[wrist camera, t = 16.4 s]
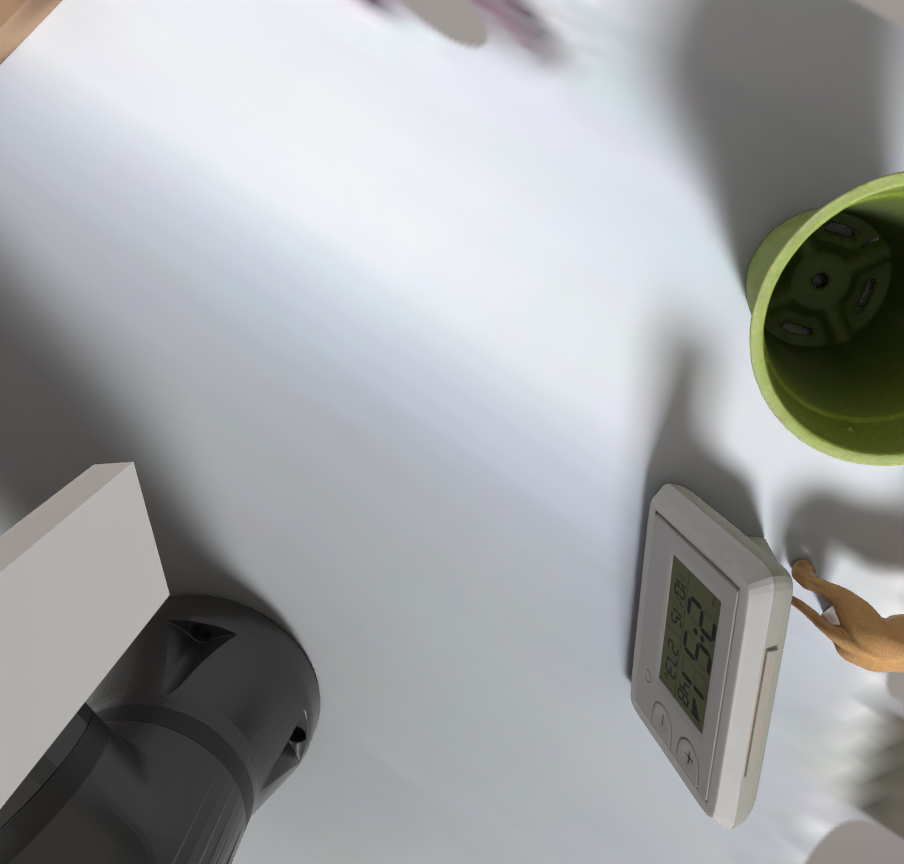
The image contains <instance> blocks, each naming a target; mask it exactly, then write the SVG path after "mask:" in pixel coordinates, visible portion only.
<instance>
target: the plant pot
mask: <svg viewBox="0 0 904 864" xmlns="http://www.w3.org/2000/svg"><path fill="white" fill-rule="evenodd" d="M830 222H835V223H839V224H844V225H846V226H848V227H850V228H852V229H853V230H854V234H853V235H852V236H851V237H846V236H843V235H841V234H838V233H834V232H829V231H825V227H826V225H827V224H828V223H830ZM876 237H878V238H879V240H878V241H876V242H873V243H870V244H869V245H866V246H864V247H861V248H860V246H861V245H863V244H865V243H866V242H867V241H870V240H871V239H873V238H876ZM818 274H824V275H826V277H827V283H826V285H825V286H823V287H821V288H816V287H815V286H814V285H813V283H812V280H813V278H814V277H815V276H816V275H818ZM874 278H876V279H875V282H874V285H873V287H872V289H873V290H872V292H871V295H870V297H869V300H868V301H867V303H866V305H865V306H864V307H859V306H858V302H859V300H860V299H861V297H862V294H863V292H864V290H865V287H866V284H867V281H868V280H874ZM746 295H747V301H748V305H749V309H750V312H751V315H752V318H751V325H750V356H751V363H752V368H753V372H754V376H755V379H756V381H757V384H758V386H759V389H760V391H761V394H762V396H763V397H764V399H765V401H766V403H767V405H768V406H769V408H770V409H771V411H772V412H773V414H774V415H775V416H776V417H777V418H778V420H779V421H780V422H781V423H782V424H783V425H784V426H785V427H786V428H787V429H788V430H789V431H790V432H791V433H792V434H794V435H795V436H796V437H797V438H798V439H799V440H801V441H802V442H804V443H805V444H807V445H808V446H810V447H812V448H814V449H816V450H818V451H820V452H822V453H824V454H827V455H829V456H832V457H834V458H838V459H841V460H844V461H848V462H853V463H858V464H865V465H879V466H892V465H904V172H898V173H894V174H890V175H886V176H883V177H880V178H877V179H874V180H871V181H869V182H866V183H864V184H861V185H859V186H857V187H855V188H853V189H851V190H849V191H847V192H845V193H843V194H842V195H840V196H838V197H837V198H835V199H833V200H832V201H830V202H829V203H828V204H826V205H825V206H823V207H822V208H818V209H813V210H809V211H806V212H803V213H800V214H798V215H796V216H794V217H791V218H790V219H788V220H786V221H785V222H783V223H782V224H780V225H779V226H778V227H776V228H775V229H774V230H773V231H771V232H770V233H769V234H768V236H767V237H766V238H765V239H764V240H763V241H762V243H761V244H760V246H759V247H758V248H757V250H756V252H755V254H754V256H753V258H752V260H751V262H750V266H749V269H748V273H747V280H746ZM768 316H771V317H768ZM787 321H790V322H792V323H794V324H797V325H801V326H803V327H805V328H815V329H811V330H812V332H811V334H809V335H803V334H796V333H793V332H790V331H788V330H786V329H783V327H782V326H783V324H784V323H785V322H787Z"/></svg>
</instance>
